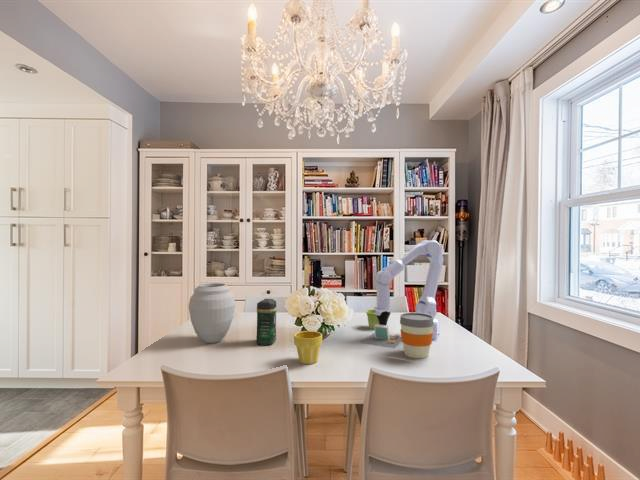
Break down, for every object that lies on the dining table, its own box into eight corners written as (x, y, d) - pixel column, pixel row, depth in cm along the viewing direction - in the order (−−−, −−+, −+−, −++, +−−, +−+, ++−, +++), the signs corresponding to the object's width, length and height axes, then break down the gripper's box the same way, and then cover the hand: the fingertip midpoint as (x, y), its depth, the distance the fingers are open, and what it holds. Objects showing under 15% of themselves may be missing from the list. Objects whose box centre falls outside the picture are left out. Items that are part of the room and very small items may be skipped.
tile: (389, 337, 152) (388, 325, 150) (388, 340, 150) (387, 327, 149) (376, 335, 155) (375, 323, 153) (375, 338, 153) (374, 325, 152)
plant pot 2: (386, 331, 165) (386, 313, 165) (366, 331, 165) (366, 313, 165) (383, 326, 174) (383, 309, 174) (364, 326, 175) (364, 309, 175)
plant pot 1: (290, 358, 128) (290, 332, 128) (315, 354, 133) (315, 329, 133) (299, 368, 119) (300, 339, 119) (326, 363, 123) (327, 336, 123)
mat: (405, 338, 154) (405, 337, 154) (394, 349, 139) (394, 348, 139) (374, 333, 161) (374, 332, 161) (359, 343, 146) (359, 342, 146)
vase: (178, 343, 146) (178, 286, 145) (212, 332, 163) (212, 281, 163) (212, 350, 137) (212, 289, 136) (244, 338, 154) (244, 283, 154)
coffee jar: (273, 346, 142) (273, 301, 142) (254, 345, 143) (254, 301, 143) (278, 339, 152) (278, 297, 152) (260, 338, 153) (260, 297, 153)
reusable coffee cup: (428, 363, 124) (429, 321, 123) (395, 356, 130) (395, 317, 130) (436, 353, 134) (437, 315, 134) (405, 347, 141) (405, 311, 141)
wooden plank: (394, 336, 155) (394, 333, 155) (400, 337, 154) (400, 334, 154) (386, 343, 146) (386, 340, 146) (393, 344, 144) (393, 341, 144)
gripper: (380, 294, 161) (380, 323, 161) (368, 299, 148) (368, 331, 148) (394, 296, 158) (394, 325, 158) (384, 301, 145) (384, 333, 145)
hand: (383, 328), depth 153 cm, fingers closed
